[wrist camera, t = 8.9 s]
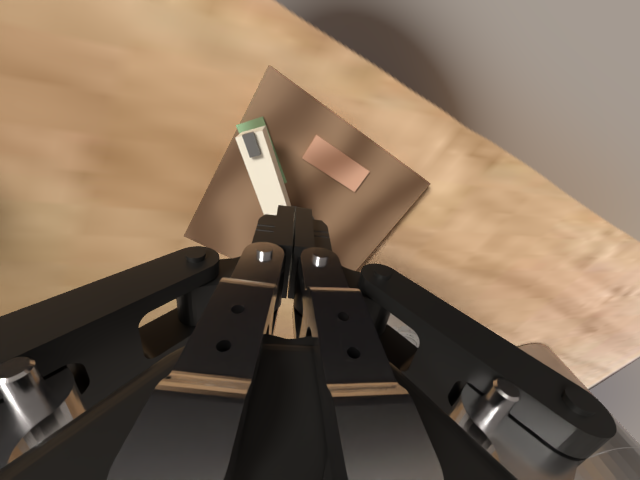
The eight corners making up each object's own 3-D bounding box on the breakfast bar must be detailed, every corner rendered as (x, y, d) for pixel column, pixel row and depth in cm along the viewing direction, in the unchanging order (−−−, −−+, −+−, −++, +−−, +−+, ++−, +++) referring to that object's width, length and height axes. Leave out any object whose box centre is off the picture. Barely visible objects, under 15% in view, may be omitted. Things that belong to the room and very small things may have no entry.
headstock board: (424, 179, 29) (431, 184, 28) (326, 295, 36) (328, 305, 35) (268, 64, 24) (266, 63, 22) (187, 228, 30) (181, 236, 29)
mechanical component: (387, 357, 43) (438, 318, 40) (396, 384, 40) (453, 343, 36) (338, 330, 40) (390, 284, 36) (343, 356, 36) (401, 308, 33)
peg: (279, 117, 24) (274, 127, 19) (315, 241, 30) (318, 275, 25) (234, 129, 24) (217, 143, 19) (279, 250, 31) (275, 285, 25)
